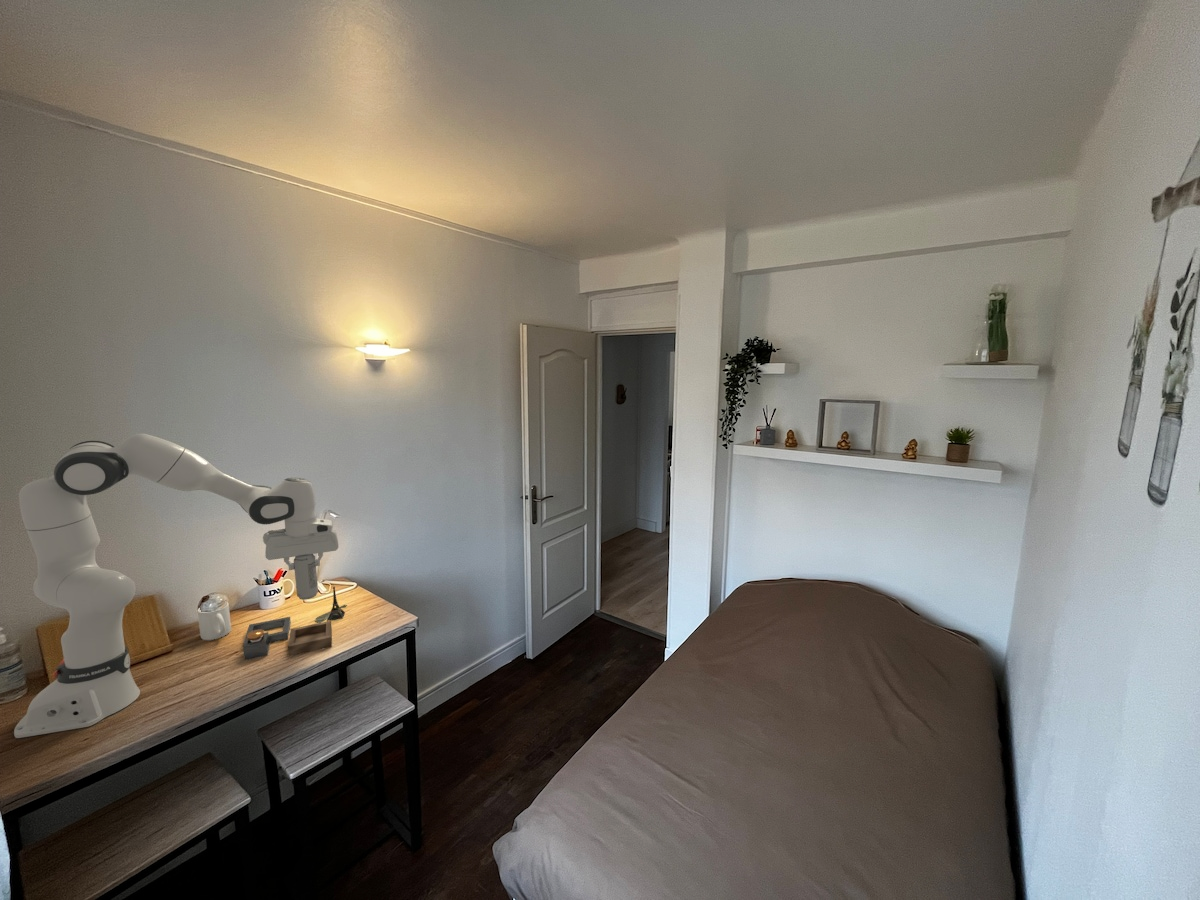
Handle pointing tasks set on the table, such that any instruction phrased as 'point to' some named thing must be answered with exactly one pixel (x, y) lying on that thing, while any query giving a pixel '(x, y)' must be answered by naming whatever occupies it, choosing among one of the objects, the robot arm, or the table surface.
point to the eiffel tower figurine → (332, 611)
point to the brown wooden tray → (310, 638)
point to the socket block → (265, 637)
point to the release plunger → (255, 635)
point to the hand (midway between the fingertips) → (304, 567)
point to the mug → (214, 623)
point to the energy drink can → (305, 576)
